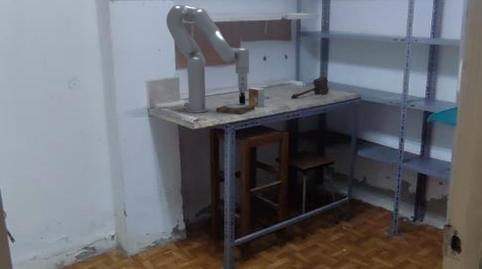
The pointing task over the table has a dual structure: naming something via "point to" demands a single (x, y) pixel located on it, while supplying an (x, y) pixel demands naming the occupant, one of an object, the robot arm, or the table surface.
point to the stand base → (235, 111)
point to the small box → (256, 97)
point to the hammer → (316, 87)
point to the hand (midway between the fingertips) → (242, 102)
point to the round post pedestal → (235, 105)
